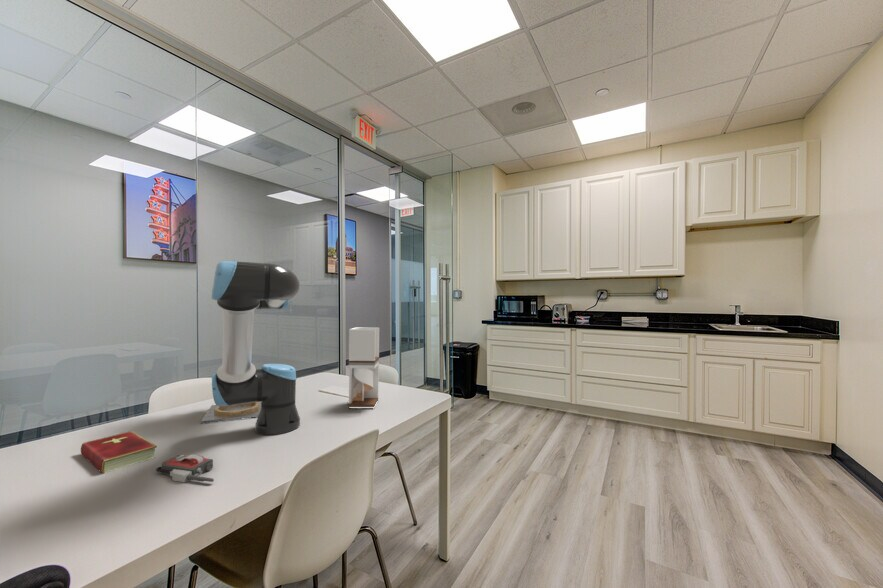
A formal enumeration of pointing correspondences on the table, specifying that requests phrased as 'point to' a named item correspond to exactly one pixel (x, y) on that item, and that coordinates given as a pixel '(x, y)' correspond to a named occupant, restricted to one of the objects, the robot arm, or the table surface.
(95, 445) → the hardcover book
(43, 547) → the table surface
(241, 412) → the ring collar plate
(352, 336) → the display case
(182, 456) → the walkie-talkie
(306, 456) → the table surface
